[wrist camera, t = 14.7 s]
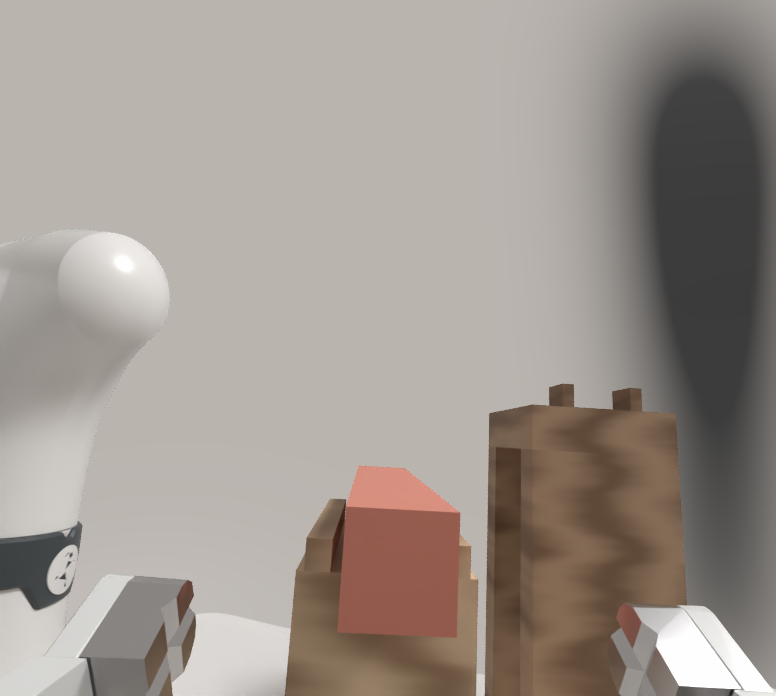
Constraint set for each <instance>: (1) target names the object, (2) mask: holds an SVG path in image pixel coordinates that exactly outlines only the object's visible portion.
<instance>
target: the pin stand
mask: <svg viewBox="0 0 776 696" xmlns="http://www.w3.org/2000/svg"><path fill="white" fill-rule="evenodd" d="M612 395H613V410H610V409H594V408H578V407H574V385H573V384H560V385H556V386H553V387H549V406H546V405H529V406H524V407H519V408H514V409H509V410H504V411H499V412H494V413H490V414H489V472H488V532H487V534H488V536H487V539H488V540H487V595H486V596H487V597H486V600H487V601H486V656H485V696H621V695H620V694H619V693H618V691H617V688H616V686H615V684H614V682H613V679H612V676H611V672H610V669H609V664H608V650H607V649H608V645H609V641H610V637H611V635H612V634H613V633H615V632H616V631H617V630H618V629H620V628H621V626H620V624H619V623H618V621H617V619H616V617H617V613H618V610H619V608H620V607H621V606H622V605H623V604H624V603H640V604H664V605H675V606H677V605H685V606H687V601H686V587H685V586H686V585H685V567H684V550H683V534H682V516H681V499H680V482H679V465H678V448H677V431H676V415H675V413H658V412H643V411H642V398H641V389H636V388H628V389H623V390H617V391H613V392H612Z"/></svg>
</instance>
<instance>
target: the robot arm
mask: <svg viewBox="0 0 776 696" xmlns="http://www.w3.org/2000/svg"><path fill="white" fill-rule="evenodd" d="M169 305H170V292H169V285H168V281H167V278H166V275H165V273H164V271H163V269H162V267H161V265H160V264H159V262H158V261H157V259H156V258H155V257H154V256H153V254H152V253H150V251H149V250H148V249H147V248H145V247H144V246H143V245H141V244H140V243H139V242H137V241H135V240H134V239H131V238H129V237H127V236H124V235H121V234H117V233H111V232H102V231H92V230H74V229H69V230H59V231H55V232H51V233H47V234H43V235H39V236H35V237H32V238H28V239H24V240H20V241H14V242H9V243H0V696H173V695H172V685H171V683H172V682H173V681H174V680H175V679H176V678H177V677H179V676H180V675H181V674H182V673H183V672H184V670H185V667H186V665H187V662H188V660H189V657H190V654H191V650H192V646H193V642H194V638H195V629H196V619H195V614H194V612H193V611H192V610H191V609H190V608H189V605H190V603H191V600H192V598H193V596H194V594H193V586H192V582H191V581H189V580H180V579H167V578H156V577H143V576H124V575H111V574H108V575H107V576H105V577H104V578H102V579H101V580H100V581H99V582H98V583H97V584H96V586H95V587H94V588H93V590H92V591H91V592H90V594H89V595H88V597H87V598H86V599H85V601H84V602H83V603H82V605H81V606H80V607H79V609H78V610H77V611H76V613H75V614H74V616H73V617H72V618H71V620H70V621H69V622H68V624H67V625H66V613H67V600H68V594H69V592H70V590H71V587H72V583H73V579H74V575H75V570H76V565H77V559H78V553H79V547H80V540H81V532H82V524H81V523H80V522H79V521H78V517H79V511H80V506H81V501H82V496H83V490H84V485H85V480H86V475H87V470H88V464H89V459H90V454H91V449H92V445H93V441H94V437H95V434H96V431H97V428H98V426H99V423H100V420H101V418H102V415H103V413H104V410H105V408H106V406H107V404H108V402H109V400H110V398H111V396H112V394H113V392H114V390H115V388H116V386H117V384H118V382H119V380H120V378H121V376H122V374H123V373H124V371H125V369H126V367H127V366H128V364H129V363H130V361H131V359H132V358H133V357H134V356H135V354H136V353H137V352H138V351H139V350H140V349H141V348H142V347H143V346H144V345H145V344H146V343H147V342H148V341H149V340H151V339H152V338H153V337H154V336H155V335H156V334H157V333H158V332H159V330H160V329H161V327H162V326H163V324H164V322H165V320H166V317H167V314H168V311H169ZM616 619H617V621H618V623H619V624H620V626H621V628H620V629H618V630H617V631H616V632H615V633H613V634H612V635H611V637H610V641H609V645H608V649H607V650H608V664H609V669H610V672H611V676H612V679H613V682H614V684H615V686H616V688H617V691H618V693H619V694H620V695H621V696H776V692H773V690H772V689H771V688H770V687H769V685H768V684H767V683H766V681H765V680H764V679H763V677H762V676H761V675H760V673H759V672H758V671H757V670H756V668H755V667H754V666H753V664H752V663H751V662H750V660H749V659H748V658H747V657H746V655H745V654H744V653H743V651H742V650H741V649H740V647H739V646H738V645H737V644H736V642H735V641H734V640H733V638H732V637H731V636H730V635H729V634H728V632H727V631H726V629H725V628H724V627H723V626H722V624H721V623H720V622H719V620H718V619H717V618H716V616H715V615H714V614H713V613H712V612H711V611H710V610H709V609H707V608H706V607H704V606H685V605H677V606H675V605H664V604H640V603H624V604H623V605H622V606H621V607H620V608H619V610H618V613H617V617H616Z"/></svg>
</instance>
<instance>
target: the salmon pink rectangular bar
mask: <svg viewBox="0 0 776 696" xmlns="http://www.w3.org/2000/svg"><path fill="white" fill-rule="evenodd" d="M459 538H460V512H458V511H457V510H456V509H455V508H454V507H452V506H451V505H450V504H449V503H447V502H446V501H445V500H444V499H442V498H441V497H440V496H439V495H437V494H436V493H435V492H433V491H432V490H431V489H430V488H429V487H427V486H426V485H425V484H424V483H422V482H421V481H420V480H419V479H417V478H416V477H415V476H413V475H412V474H411V473H410V472H409V471H407V470H406V469H404V468H390V467H373V466H372V467H371V466H359V467H358V470H357V473H356V476H355V480H354V483H353V486H352V489H351V493H350V496H349V500H348V502H347V505H346V516H345V530H344V544H343V558H342V572H341V586H340V600H339V614H338V628H337V632H340V633H362V634H384V635H406V636H428V637H450V638H457V612H458V575H459Z"/></svg>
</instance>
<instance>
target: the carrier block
mask: <svg viewBox="0 0 776 696" xmlns="http://www.w3.org/2000/svg"><path fill="white" fill-rule="evenodd" d="M345 508H346V500H345V499H330V500H329V502H328V503H327V505H326V507H325V508H324V510H323V512H322V513H321V515H320V517H319V519H318V520H317V522H316V523H315V525H314V527H313V528H312V530H311V532H310V533H309V535H308V537H307V542H306V553H305V555H304V557H303V559H302V560H301V562H300V564H299V566H298V568H297V570H296V577H295V588H294V599H293V612H292V623H291V633H290V645H289V656H288V667H287V678H286V690H285V696H476V662H477V610H478V609H477V607H478V579H477V578H476V576H475V575H474V574H473V573H472V571H471V546H470V545H469V544H468V543H467V541H466V540H464V538H463V537H462V536H461V535H460V538H459V575H458V612H457V638H450V637H428V636H406V635H384V634H362V633H340V632H337V628H338V614H339V600H340V586H341V572H342V558H343V544H344V530H345Z"/></svg>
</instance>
